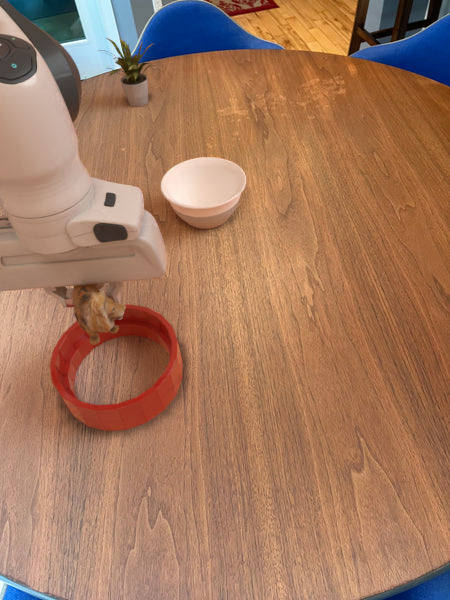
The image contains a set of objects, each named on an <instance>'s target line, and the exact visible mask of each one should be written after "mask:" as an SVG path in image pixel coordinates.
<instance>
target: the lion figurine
mask: <svg viewBox="0 0 450 600" xmlns="http://www.w3.org/2000/svg"><path fill="white" fill-rule="evenodd" d="M104 287H105V283H101V284H89V285H76V286H73V288H74V298H75V302H76V304H75V307H73V310H74V311H73V312H74V317H75V320H76V321H77V322H78V323H79V325H80V327H81V328H82V329H83V330H85V331H86V332H87V333H88V334H89V336H90V340H89V342H90V344H92V345H96V344H98V343H99V342H100V339H99V335H98V333H102V332H108V331H109V332H110V333H112V334H114V333H116V332H118V330H119V327H118V326H117V325H115V324H114V322H115V320H117V319H118V320H120V319H122V318H123V314H124V310H125V308H126V306H125V305H126V304H122V303H120V304H117V303H115V302H114V301H113V300H112V299H109V298H108V297H107V295H106V294H105V290H104V289H103V288H104ZM101 289H102V290H101Z"/></svg>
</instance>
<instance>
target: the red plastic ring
mask: <svg viewBox="0 0 450 600" xmlns="http://www.w3.org/2000/svg"><path fill="white" fill-rule="evenodd" d="M124 305H125V306H126V308H125V310H124V314H123V318H122V319H120V320H118V319H117V320H115V322H114V324H115V325H117V326H118V327H119V330H118V332H116V333H114V334H112V333H110V332H109V331H108V332H102V333H98V335H99V339H100V342H99V343H98V344H96V345H92V344H90V342H89V340H90V336H89V334H88V333H87V332H86V331H85V330H83V329H82V328H81V327H80V325H79V323H78V322H77V320H76V321H75V322H74V323H73V324H71V326H70V327H68V328H67V329H66V330H65V331H64V332H63V333H62V334H61V336H60V338H59V339H58V341H57V343H56V344H55V346H54V348H53V349H52V354H51V358H50V362H49V370H50V379H51V383H52V385H53V386H54V388H55V389H56V391H57V393H58V394H59V396H60V397H61V399H62V401H63V402H64V403H65V405H66V407H67V408H68V410H69V412H70V413H71V414H72V416H73V417H74V418H75V419H77V420H78V421H79V422H81V423H82V424H84V425H86V426H87V427H89V428H93V429H97V430H101V431H105V432H112V431H126V430H130V429H133V428H135V427H138V426H141V425H144V424H147V423H148V422H150V421H151V420H153V419H155V417H157V416H158V415H159V414H161V413H162V412H164V411H165V410H166V409H167V407H169V406H170V404H171V403H172V401H173V400H174V399H175V398H176V396H177V394H178V391H179V390H180V386H181V384H182V381H183V376H184V375H183V373H184V372H183V371H184V361H183V358H182V354H181V349H180V345H179V341H178V338H177V335H176V333H175V330H174V327H173V325H172V324H171V323H170V322H169V321H168V320H167V319H166V318H165V317H164V316H163V314H161V313H159V312H157V311H155V310H154V309H151V308H150V307H147V306H143V305H137V304H132V303H129V304H124ZM129 336H137V337H141V338H146V339H149V340H152V341H153V342H154V343H157V344H158V345H160V346H161V347H162V348H163V350H165V352H166V353H167V355H168V362H167V363H168V364H167V365H166V368H165V370H164V371H163V373H162V374H161V376H159V378H158V379H157V380H156V381H155V382H154V384H153V385H152V386H151V387H149V388H148V389H146V390H145V391H143V392H141V393H140V394H139V395H137V396H135V397H133V398H130V399H127V400H124V401H121V402H119V403H108V404H93V403H90V402H86V401H82V400H80V399H78V398H77V394H76V389H75V381H76V375H77V372H78V370H79V368H80V367H81V365H82V362H83V361H84V359H85V358H86V357H87V356H88V355H90V353H91V352H92V351H94V349H96V348H98V347H99V346H101V345H102V344H105V343H106V342H107V341H111V340H114V339H117V338H120V337H129Z"/></svg>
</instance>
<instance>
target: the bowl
mask: <svg viewBox="0 0 450 600" xmlns="http://www.w3.org/2000/svg"><path fill="white" fill-rule="evenodd" d="M246 185H247V176H246V173H245V171H244V170H243V169H242V167H241V166H240V165H239V164H237V163H235V162H233V161H231V160H230V159H229V160H228V159H226V158H221V157H214V156H202V157H195V158H191V159H187V160H184V161H182V162H179V163H177V164H176V165H174V166H172V167H171V168H170V169H168V170H167V171H166V172H165V174H164V175H163V177H162V178H161V181H160V192H161V194H162V196H163V197H164V198H165V199H166V200H167V201H168V202H169V203H170V207H171V208H172V210H173V212H174V213H175V214H176V215H177V216H178V217H179V218H180V219H181V220H182V221H184V222H185V223H187V224H188V225H189V226H191V227H193V228H196V229H200V230H208V229H214V228H218V227H219V226H222V225H223V224H225V223H226V222H227V221H228V220H229V218H230V217H231V216H232V215H233V214H234V213H235V211H236V209H237V207H238V206H239V203H240V198H241V195H242V193H243V191H244V190H245V188H246Z"/></svg>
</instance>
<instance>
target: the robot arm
mask: <svg viewBox="0 0 450 600" xmlns="http://www.w3.org/2000/svg"><path fill="white" fill-rule="evenodd" d="M82 89H83V88H82V79H81V75H80V71H79V67H78V66H77V64H76V62H75V60H74V59H73V57H72V55H71V54H70V53H69V52H68V51H67V49H66V48H65V47H64V46H63V45H62V43H60V42H59V41H58V40H56V39H55V38H54V37H53V36H52V35H51V34H49V33H48V32H46V31H45V30H43V29H42V28H41V27H40V26H38V25H36V24H35V23H34V22H33V21H31V20H30V19H29V18H27V17H26V16H25V15H24V14H22V13H21V12H20V11H19V10H17V9H16V8H15V7H14V6H13V5H12V4H11V3H10V2H9V1H8V0H0V206H1V208H2V210H3V212H4V214H5V216H0V292H11V291H24V290H35V289H36V290H37V289H43V290H44V292H45V293H46V294H48V295H49V296H51V297H52V298H55V299H56V300H58V301H59V302H60V304H61V306H62V307H63V308H64V309H67V308H74V307H75V304H76V302H75V298H74V286H76V285H89V284H101V283H104V284H108V285H106V286H105V291H104V293H105V294H106V295H107V297H108V298H109V299H112V300H113V301H114V302H115V303H117V304H121V301H122V292H121V289H122V288H123V283H125V282H137V281H138V282H140V281H153V280H159V279H162V278H163V276H164V275H165V274H166V273H167V267H168V252H167V248H166V244H165V240H164V237H163V235H162V232H161V228H160V227H159V225H158V222H157V220H156V218H155V216H153V214H151V212H150V211H148V210H146V209H145V203H144V193H143V192H142V190H141V188H139V187H138V186H134V185H130V184H123V183H118V182H113V181H109V180H104V179H101V178H96V177H93V176H91V174H90V172H89V171H88V169H87V168H86V166H85V165H84V163H83V162H82V159H81V158H80V152H79V138H78V135H77V132H76V129H75V125H74V123H75V121H76V120H77V119H78V116H79V113H80V109H81V103H82V97H83V96H82V95H83V94H82V93H83V91H82ZM67 287H69V288H67ZM70 287H71V288H70Z"/></svg>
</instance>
